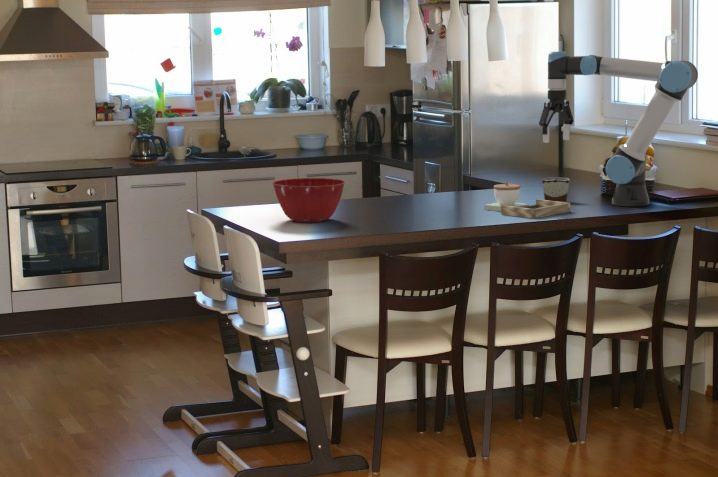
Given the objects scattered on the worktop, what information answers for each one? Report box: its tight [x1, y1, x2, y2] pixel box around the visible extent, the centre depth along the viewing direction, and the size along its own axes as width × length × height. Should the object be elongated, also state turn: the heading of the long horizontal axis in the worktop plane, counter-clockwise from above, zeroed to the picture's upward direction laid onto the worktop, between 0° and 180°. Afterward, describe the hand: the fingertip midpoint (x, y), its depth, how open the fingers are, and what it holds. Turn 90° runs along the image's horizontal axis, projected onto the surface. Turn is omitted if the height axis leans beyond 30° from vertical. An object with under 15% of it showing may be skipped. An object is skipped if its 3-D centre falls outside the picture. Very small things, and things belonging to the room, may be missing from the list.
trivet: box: [483, 202, 530, 213], centre depth 475 cm, size 13×13×2 cm
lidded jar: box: [493, 181, 521, 205], centre depth 474 cm, size 11×11×9 cm
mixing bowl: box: [272, 177, 346, 224], centre depth 454 cm, size 28×28×16 cm
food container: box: [540, 176, 571, 203], centre depth 495 cm, size 12×6×10 cm, turn 84°
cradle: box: [500, 199, 571, 219], centre depth 464 cm, size 16×23×4 cm
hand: (556, 141), depth 480 cm, fingers open, 13 cm apart
